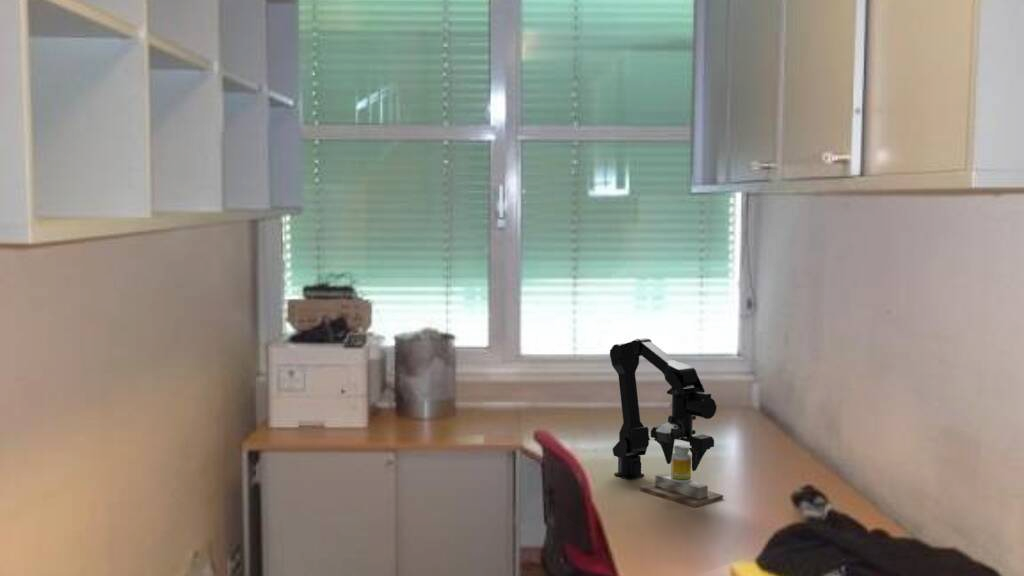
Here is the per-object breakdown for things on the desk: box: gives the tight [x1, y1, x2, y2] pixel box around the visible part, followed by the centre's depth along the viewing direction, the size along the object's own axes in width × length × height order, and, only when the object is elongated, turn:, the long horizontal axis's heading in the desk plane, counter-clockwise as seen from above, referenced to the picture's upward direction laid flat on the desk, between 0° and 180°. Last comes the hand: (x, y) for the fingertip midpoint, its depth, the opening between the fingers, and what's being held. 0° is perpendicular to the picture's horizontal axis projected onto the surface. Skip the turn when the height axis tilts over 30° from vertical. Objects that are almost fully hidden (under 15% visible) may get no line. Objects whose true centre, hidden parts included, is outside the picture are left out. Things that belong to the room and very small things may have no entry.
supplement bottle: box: [670, 444, 692, 483], centre depth 278 cm, size 5×5×10 cm
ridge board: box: [639, 472, 724, 508], centre depth 279 cm, size 20×12×4 cm, turn 39°
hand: (681, 467), depth 279 cm, fingers open, 9 cm apart
